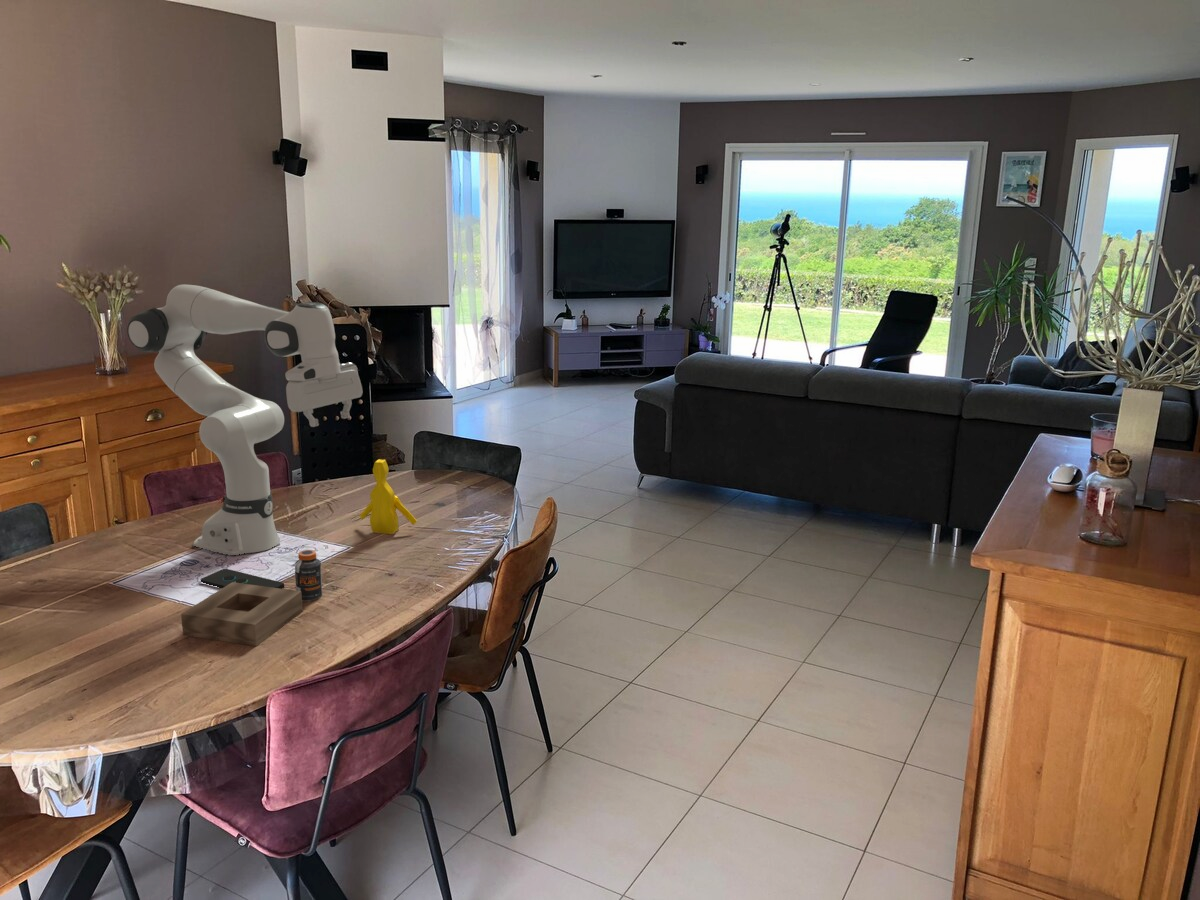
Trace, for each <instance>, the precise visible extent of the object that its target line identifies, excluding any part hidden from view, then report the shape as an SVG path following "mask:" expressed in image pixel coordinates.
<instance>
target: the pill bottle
mask: <svg viewBox="0 0 1200 900" xmlns="http://www.w3.org/2000/svg"><path fill="white" fill-rule="evenodd" d="M321 564H322V562H321V561H320V559H319V558H317V552H316V550H313V549H304V550H300V551H299V552H298V559H297V560H296V562H295V564H294V574H295V576H294V577H295V591H301V593H302V602H303V601H305V602H306V601H307V602H309V601H315V600H319V598H321V597H322V596H323V583H322V580H323V579H322V565H321Z"/></svg>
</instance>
